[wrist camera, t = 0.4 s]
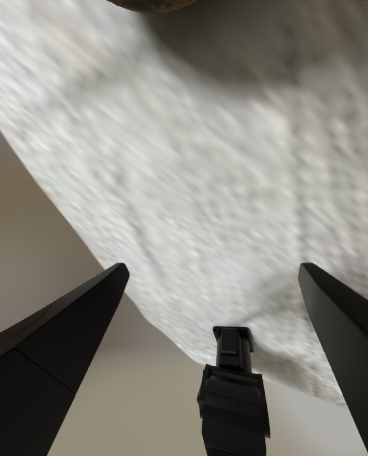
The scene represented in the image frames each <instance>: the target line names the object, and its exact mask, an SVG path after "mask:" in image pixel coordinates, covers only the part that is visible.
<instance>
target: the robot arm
mask: <svg viewBox="0 0 368 456" xmlns="http://www.w3.org/2000/svg"><path fill="white" fill-rule="evenodd" d="M129 276H130V273H129V271H128V269H127V267H126V265H125V264H124V263H116V264H115V265H113V266H111V267H110V268H108V269H106V270H105V271H103V272H102V273H100V274H98V275H97V276H95V277H93V278H92V279H90V280H88V281H87V282H85V283H83V284H82V285H80V286H79V287H77V288H75V289H74V290H72V291H70V292H69V293H67V294H66V295H64V296H62V297H60V298H59V299H57V300H56V301H54V302H53V303H51V304H49V305H47V306H46V307H44V308H42V309H41V310H39V311H37V312H36V313H34V314H32V315H31V316H29V317H27V318H25V319H24V320H22V321H20V322H19V323H16V324H15V325H13V326H11V327H9V328H8V329H6V330H4V331H2V332H0V456H47V454H48V452H49V450H50V448H51V446H52V444H53V442H54V440H55V438H56V435H57V433H58V431H59V429H60V427H61V425H62V423H63V421H64V419H65V416H66V414H67V412H68V410H69V408H70V406H71V404H72V402H73V400H74V398H75V395H76V393H77V391H78V388H79V387H80V385H81V383H82V381H83V378H84V376H85V374H86V372H87V370H88V368H89V366H90V364H91V361H92V360H93V357H94V355H95V353H96V351H97V349H98V347H99V345H100V343H101V341H102V338H103V336H104V334H105V332H106V330H107V328H108V326H109V324H110V322H111V320H112V318H113V316H114V313H115V311H116V309H117V307H118V305H119V303H120V301H121V298H122V295H123V293H124V290H125V287H126V285H127V282H128V279H129ZM298 281H299V284H300V288H301V291H302V294H303V298H304V301H305V304H306V308H307V311H308V314H309V317H310V320H311V322H312V324H313V327H314V329H315V331H316V334H317V336H318V338H319V341H320V343H321V345H322V348H323V350H324V352H325V355H326V357H327V359H328V362H329V364H330V366H331V369H332V371H333V373H334V376H335V378H336V380H337V382H338V385H339V387H340V389H341V392H342V394H343V396H344V399H345V401H346V403H347V406H348V408H349V410H350V413H351V415H352V417H353V420H354V422H355V424H356V427H357V429H358V431H359V434H360V436H361V438H362V441H363V443H364V445H365V447H366V450H367V452H368V300H367V299H366V298H364V297H363V296H361V295H360V294H358V293H357V292H355V291H354V290H352V289H351V288H349V287H348V286H347V285H345V284H344V283H342V282H341V281H339V280H338V279H336V278H335V277H333V276H332V275H330V274H329V273H327V272H326V271H324V270H323V269H321V268H320V267H318V266H317V265H315V264H314V263H301V264H300V268H299V275H298ZM213 332H214V335H215V338H216V341H217V357H216V366H211V365H209V364H206V367H205V369H204V371H203V378H202V383H201V386H200V389H199V393H198V396H197V402H198V404H199V409H200V418H201V419H203V421H202V436H203V440H204V444H205V448H206V452H207V456H266V443H265V437H267V438H270V426H269V417H268V411H267V410H268V409H267V403H266V397H265V391H264V385H263V379H262V374H254V373H252V369H251V358H250V352H254V351H253V346H252V342H251V338H250V334H249V330H248V328H245V327H213Z"/></svg>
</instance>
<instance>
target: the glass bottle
mask: <svg viewBox="0 0 368 456" xmlns="http://www.w3.org/2000/svg"><path fill="white" fill-rule="evenodd" d="M107 1H109V2H112V3H113V4H115V5H117V6H120V7H123V8H125V9H128V10H131V11H136V12H142V13H166V12H171V11H175V10H178V9H181V8H183V7H185V6H188V5H190V4H192V3H193V2H195V1H197V0H107Z"/></svg>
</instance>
